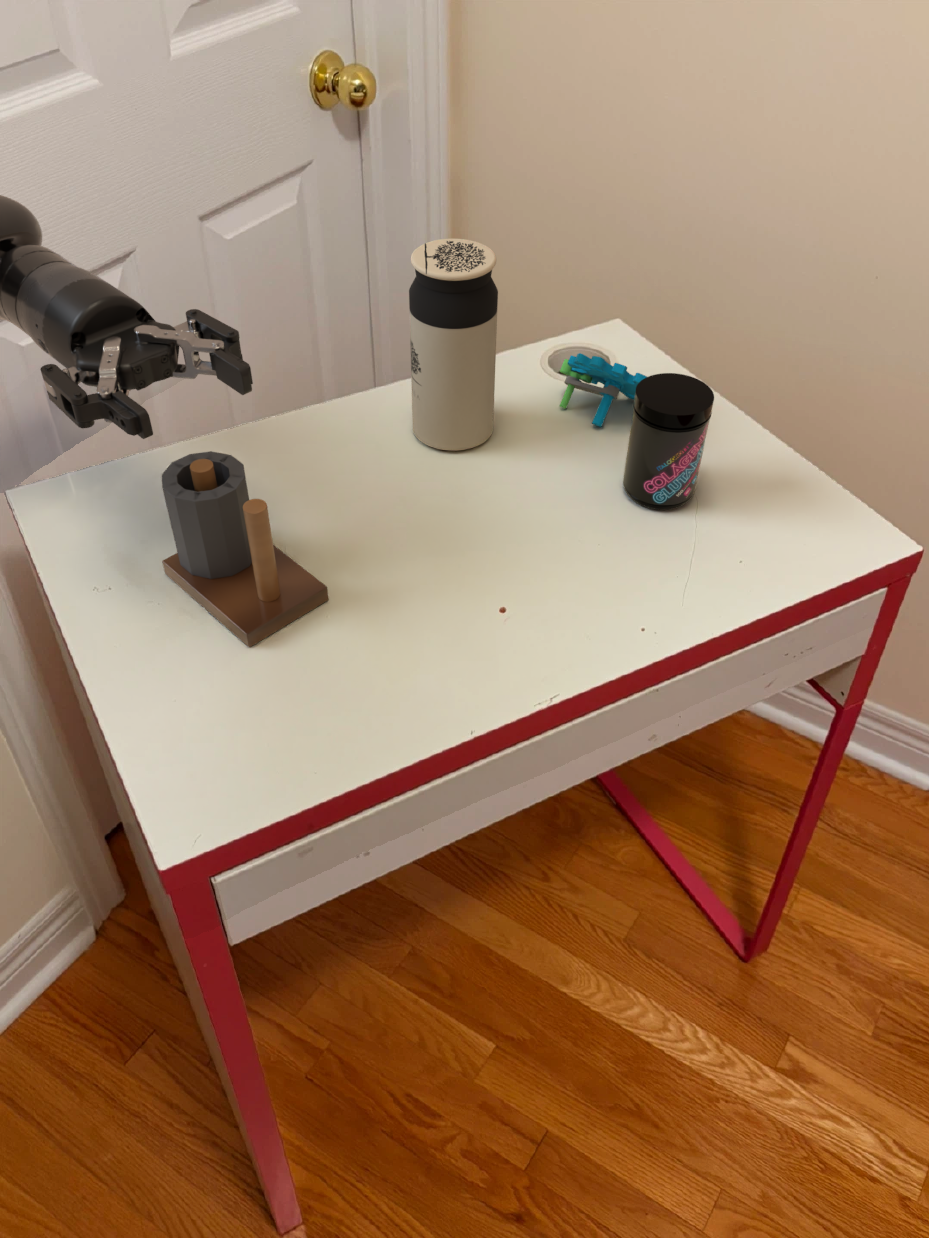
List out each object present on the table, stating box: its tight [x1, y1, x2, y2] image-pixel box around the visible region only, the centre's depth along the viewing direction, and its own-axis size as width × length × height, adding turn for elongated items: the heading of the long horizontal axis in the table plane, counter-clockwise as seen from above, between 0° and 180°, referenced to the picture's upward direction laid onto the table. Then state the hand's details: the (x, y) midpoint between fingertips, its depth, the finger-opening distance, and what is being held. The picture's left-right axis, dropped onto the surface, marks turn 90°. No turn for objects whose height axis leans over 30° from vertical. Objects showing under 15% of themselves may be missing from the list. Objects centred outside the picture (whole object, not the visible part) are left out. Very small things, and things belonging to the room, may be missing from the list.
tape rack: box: [161, 459, 329, 648], centre depth 84 cm, size 12×8×10 cm, turn 44°
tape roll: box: [160, 450, 252, 579], centre depth 85 cm, size 6×6×8 cm
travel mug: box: [408, 238, 499, 451], centre depth 98 cm, size 8×8×18 cm
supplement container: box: [622, 372, 715, 511], centre depth 94 cm, size 7×7×10 cm
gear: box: [559, 352, 648, 428], centre depth 104 cm, size 11×6×10 cm
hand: (198, 403), depth 76 cm, fingers open, 8 cm apart
